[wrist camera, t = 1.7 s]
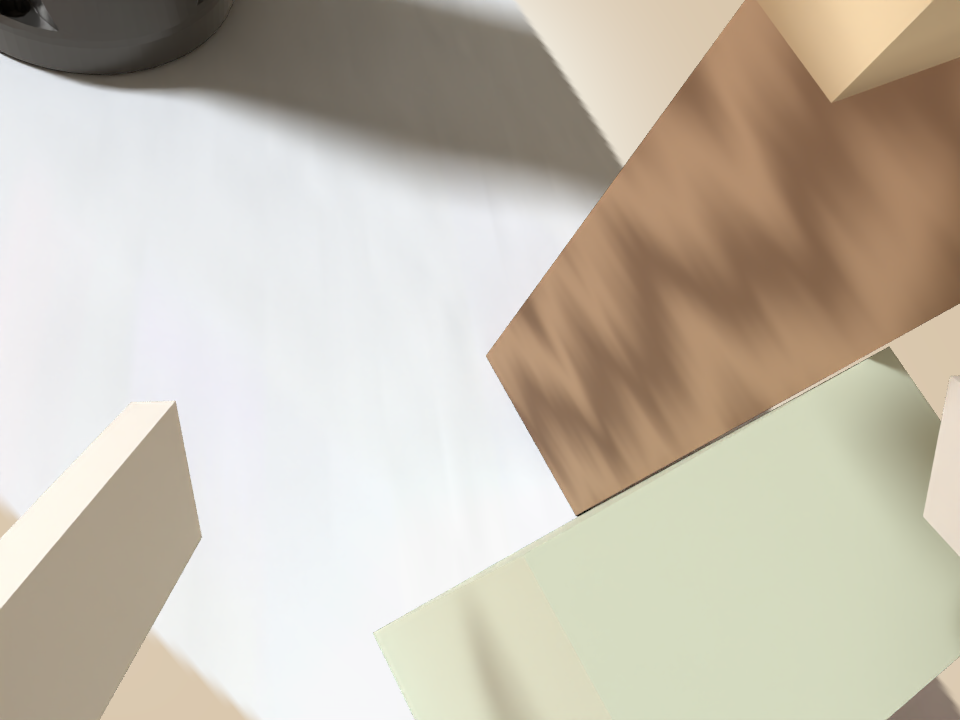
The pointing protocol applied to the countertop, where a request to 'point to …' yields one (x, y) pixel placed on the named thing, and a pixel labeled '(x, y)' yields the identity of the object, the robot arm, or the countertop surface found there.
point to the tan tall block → (866, 39)
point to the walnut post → (737, 260)
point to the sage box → (718, 583)
